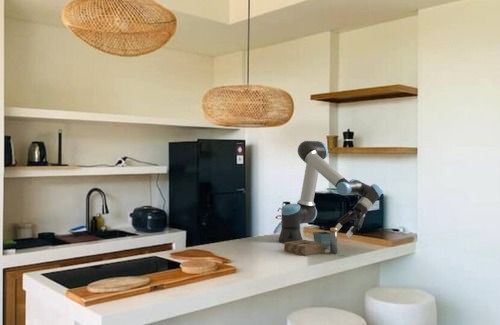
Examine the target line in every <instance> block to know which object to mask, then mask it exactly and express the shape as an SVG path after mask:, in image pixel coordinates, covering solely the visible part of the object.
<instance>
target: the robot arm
mask: <svg viewBox="0 0 500 325" xmlns="http://www.w3.org/2000/svg"><path fill="white" fill-rule="evenodd" d="M297 154H298V157H299V158H300V159H301V160H302V162H304V164H305V171H304V176H303V181H302V187H301V193H300V197H299V199H298V200H297V203H289V204H285V205H282V207H281V230H280V233H279V236H278V242H279V243H282V244H284V243H285V242H292V241H299V240H304V239H303V237H302V232H301V224H309V223H312V222H314V221H315V220H316V218H317V216H318V210H317V208H316V203H315V202H314V199H315V194H316V188H317V183H318V177H319V175H321V176H322V177H323V178H325V180H327V181H328V182H329V183H330V184H331V185H332V186H333V187H335V189H336V193H337V194H338V195H341V196H351V195H353V196H354V195H358V196H360V198H359V200H358V201H357V203H356V204H355V205H354V207H353V211H352V210H349V211H347V213H345V214H344V215H343V216H341V217H340V218H339V219H337V221H336V222H337V224H336V225H335V227H334V228H338V231H337V233H338V232H339V231H340V229H341V228H342V227H343V225H344V224H347V223H348V222H350V221H353V222H354V224H353V225H352V226H351V227H350V228H349V230H348V231H347V232H346V233H345V236H346V237H347V238H348V239H350V238H351V237H352V235H353V234H355V232H356V231H357V230H358V229H360V230H361V228H362V226H363V223H364V222H365V221H364V220H365V218H366V214H367V213H368V211H369V210H370V209H371V208H372V207H373V205H374V204H375V203H376V202H377V201H378V199H379V198H380V197H381V195H382V194H383V192H384V191H383V188H382V187H381V186H380V185H379V184H376V183H373V184H371V185H368V184H366V183H364V182H362V181H360V180H358V179H356V178H352V179H350V180H348V179H346V178H345V177H344V176H343V175H342V174H341V173H340V172H339V171H337V170H336V169H335V168H333V167H332V165H330V164H329V163H328V162H327V161H325V160H326V158H327V156H328V154H329V149H328V147H327V145H326V143H324V142H322V141H319V140H304V141H302V142H300V143H299V145H298V147H297Z"/></svg>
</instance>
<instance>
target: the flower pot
mask: <svg viewBox="0 0 500 325" xmlns="http://www.w3.org/2000/svg"><path fill="white" fill-rule="evenodd" d="M312 233H313V242H318V243H324V244H325V249H330V231H329V232H328V231H314V232H312Z"/></svg>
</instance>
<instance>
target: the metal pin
mask: <svg viewBox="0 0 500 325" xmlns="http://www.w3.org/2000/svg"><path fill="white" fill-rule="evenodd" d="M337 231H338V228H335V227H330V229H329V233H330V247H329V254H331V255H333V254H334V255H336V254H338V232H339V231H338V232H337Z"/></svg>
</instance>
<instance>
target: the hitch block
mask: <svg viewBox="0 0 500 325" xmlns="http://www.w3.org/2000/svg"><path fill="white" fill-rule="evenodd" d="M283 244H284V248H283V251H284V252H285V253H289V254H295V255H299V256H303V257H308V256H313V255H319V254H323V253H325V250H326V248H325V244H324V243H318V242H314V240H313V241H312V240H308V239H307V240H306V239H303V240H299V241H292V242H285V243H283Z"/></svg>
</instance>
